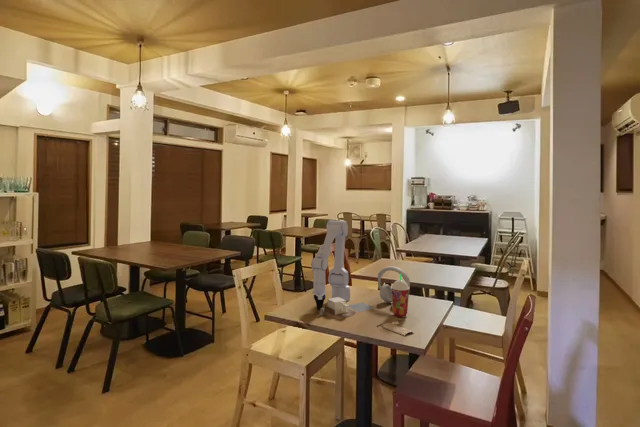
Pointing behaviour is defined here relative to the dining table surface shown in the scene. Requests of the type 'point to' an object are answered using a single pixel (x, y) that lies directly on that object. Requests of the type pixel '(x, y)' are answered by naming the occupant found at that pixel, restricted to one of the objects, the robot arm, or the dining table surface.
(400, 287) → the smoothie
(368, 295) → the dining table surface
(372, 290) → the dining table surface
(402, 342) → the dining table surface
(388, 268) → the headphones
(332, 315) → the turntable
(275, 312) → the dining table surface
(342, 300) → the beige upright block
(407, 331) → the newspaper
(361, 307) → the board
